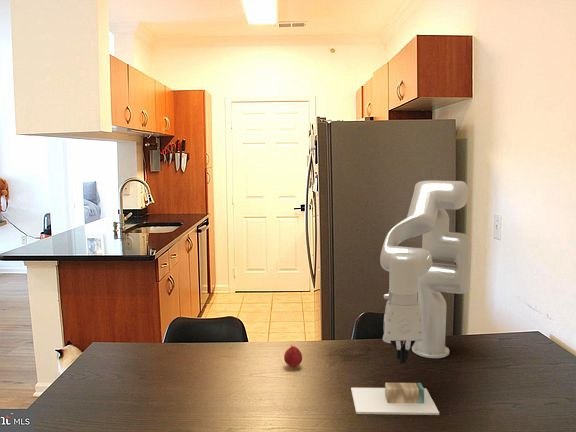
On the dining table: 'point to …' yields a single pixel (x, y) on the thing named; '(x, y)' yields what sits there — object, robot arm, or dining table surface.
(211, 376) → the dining table surface
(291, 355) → the onion
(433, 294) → the robot arm
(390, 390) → the block
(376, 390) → the mat
